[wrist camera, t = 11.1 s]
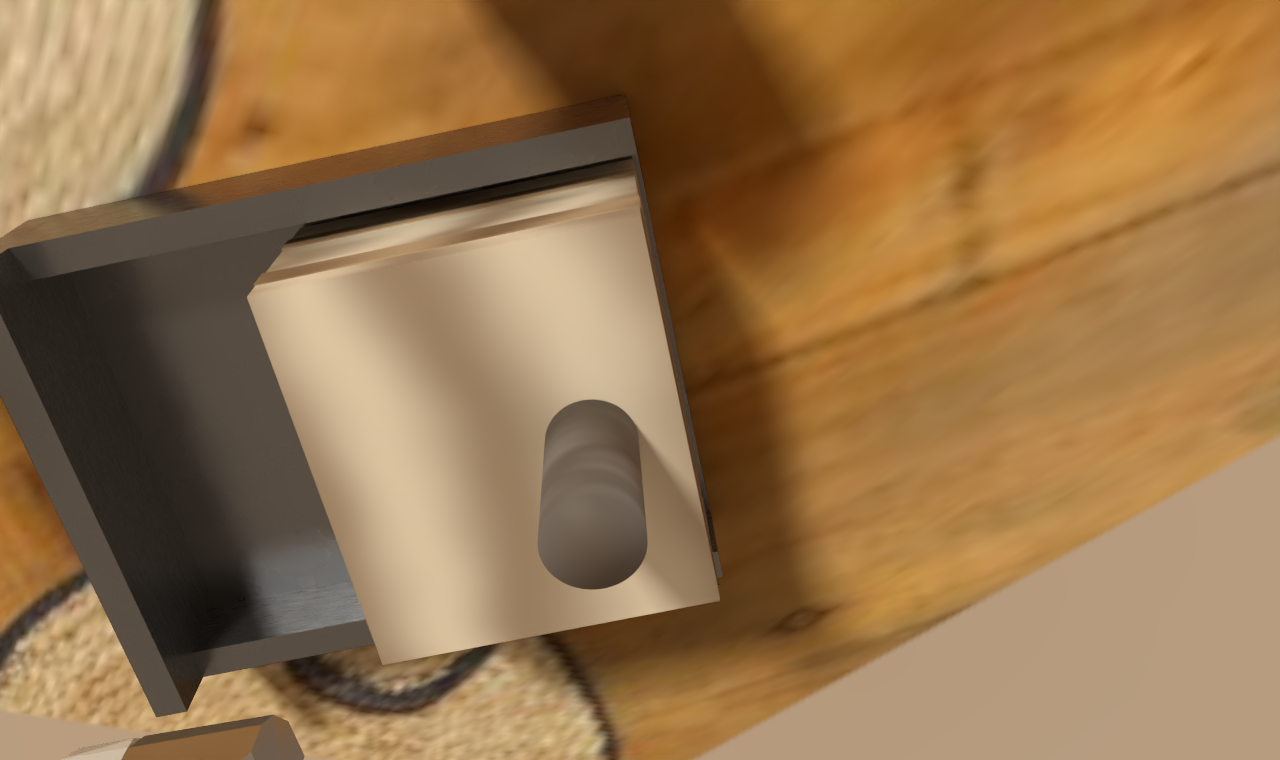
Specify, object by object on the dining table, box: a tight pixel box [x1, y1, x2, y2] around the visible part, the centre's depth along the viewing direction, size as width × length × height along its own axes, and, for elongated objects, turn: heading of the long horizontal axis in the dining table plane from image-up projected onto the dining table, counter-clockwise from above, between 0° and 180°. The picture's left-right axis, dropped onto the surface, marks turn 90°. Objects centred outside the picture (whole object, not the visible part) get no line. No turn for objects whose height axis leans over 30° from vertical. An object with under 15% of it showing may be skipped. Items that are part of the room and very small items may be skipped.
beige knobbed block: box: [247, 159, 720, 665], centre depth 37 cm, size 12×14×13 cm
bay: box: [0, 94, 723, 717], centre depth 42 cm, size 22×18×6 cm
